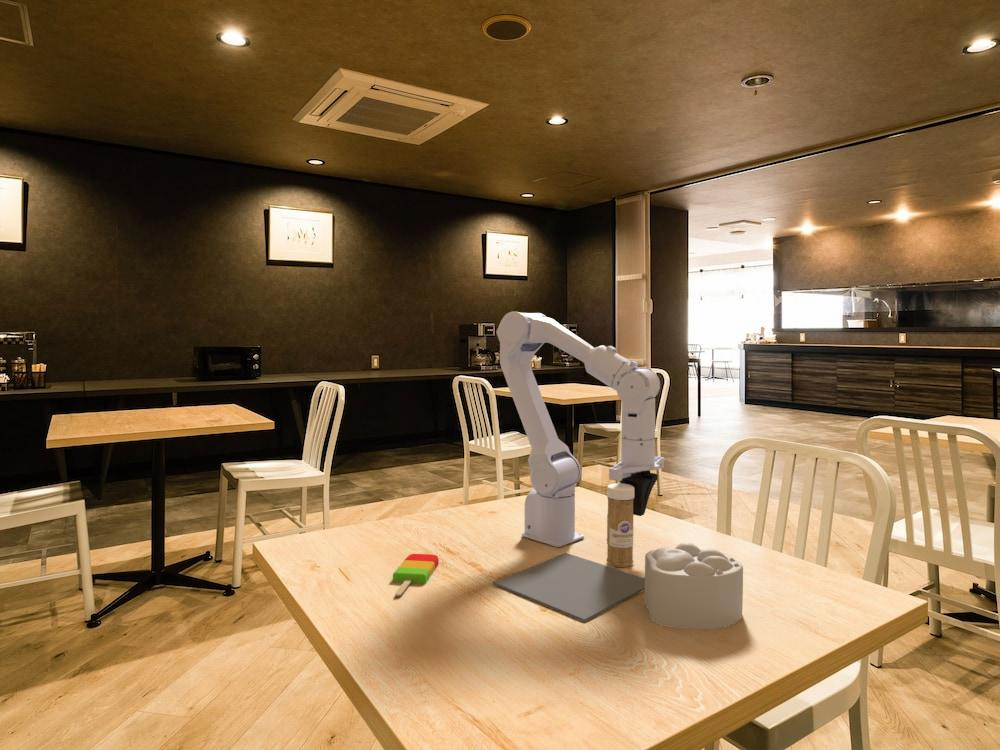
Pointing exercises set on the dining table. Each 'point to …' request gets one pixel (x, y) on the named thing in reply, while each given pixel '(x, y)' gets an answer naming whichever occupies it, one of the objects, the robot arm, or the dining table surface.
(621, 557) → the sprinkles bottle
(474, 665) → the dining table surface
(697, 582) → the lumpy-topped squat cylinder
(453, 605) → the dining table surface
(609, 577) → the rubber mat
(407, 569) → the popsicle
